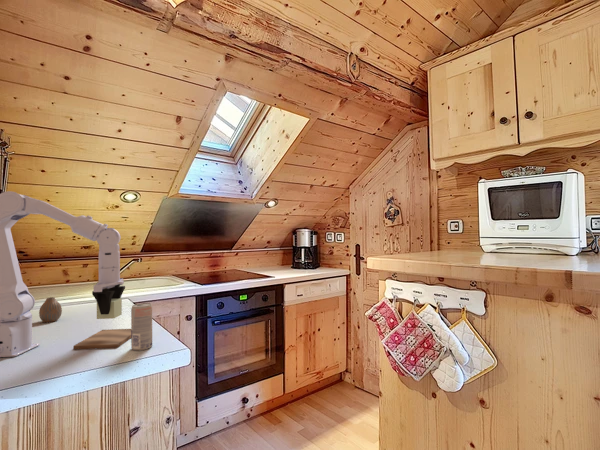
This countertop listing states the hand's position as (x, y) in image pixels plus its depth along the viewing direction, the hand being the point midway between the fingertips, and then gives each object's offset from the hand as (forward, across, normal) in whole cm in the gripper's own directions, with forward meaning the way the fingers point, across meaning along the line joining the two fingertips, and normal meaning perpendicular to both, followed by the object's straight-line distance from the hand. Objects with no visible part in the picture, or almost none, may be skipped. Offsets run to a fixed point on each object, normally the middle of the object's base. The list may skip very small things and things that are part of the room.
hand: (109, 312), depth 103 cm
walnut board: (+8, 0, 0) cm, 8 cm away
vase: (+9, +27, +34) cm, 44 cm away
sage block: (+1, 0, 0) cm, 1 cm away
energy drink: (+9, -9, -13) cm, 18 cm away
